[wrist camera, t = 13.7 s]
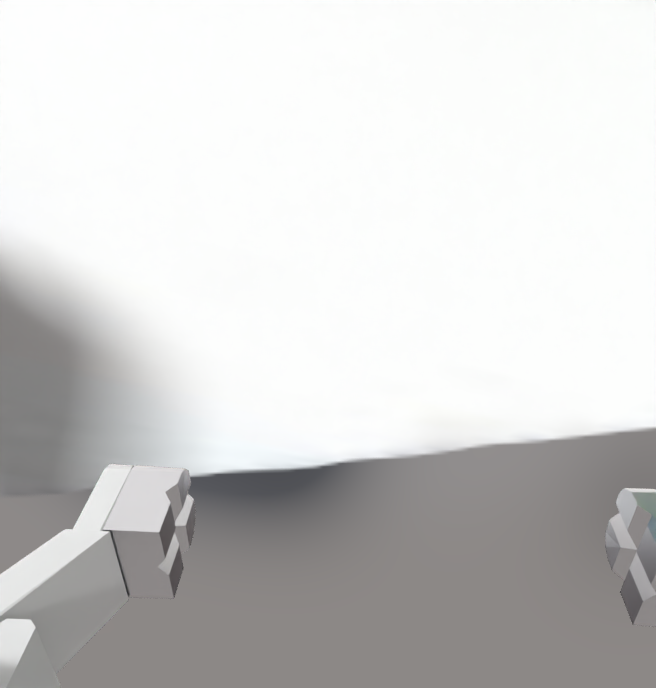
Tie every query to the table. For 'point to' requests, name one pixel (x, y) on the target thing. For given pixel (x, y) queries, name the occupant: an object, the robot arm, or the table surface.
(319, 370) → the table surface
